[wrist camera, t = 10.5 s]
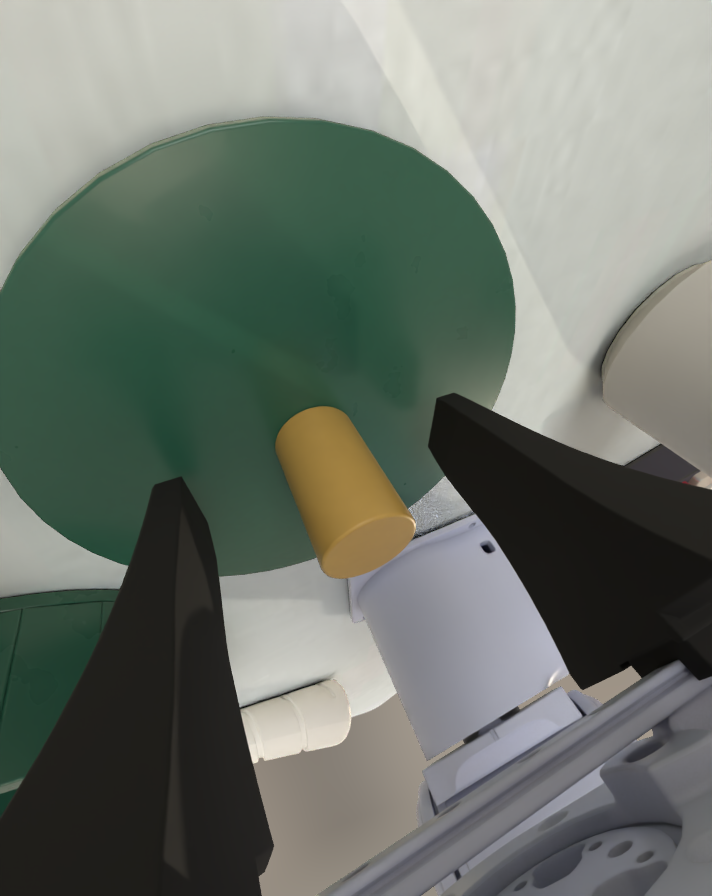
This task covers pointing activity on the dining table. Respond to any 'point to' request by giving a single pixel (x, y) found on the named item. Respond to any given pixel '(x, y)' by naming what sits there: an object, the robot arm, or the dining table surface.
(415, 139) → the dining table surface
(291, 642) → the dining table surface
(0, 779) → the tin
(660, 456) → the calculator
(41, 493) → the tin lid
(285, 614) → the dining table surface
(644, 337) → the can
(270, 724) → the unicorn horn
